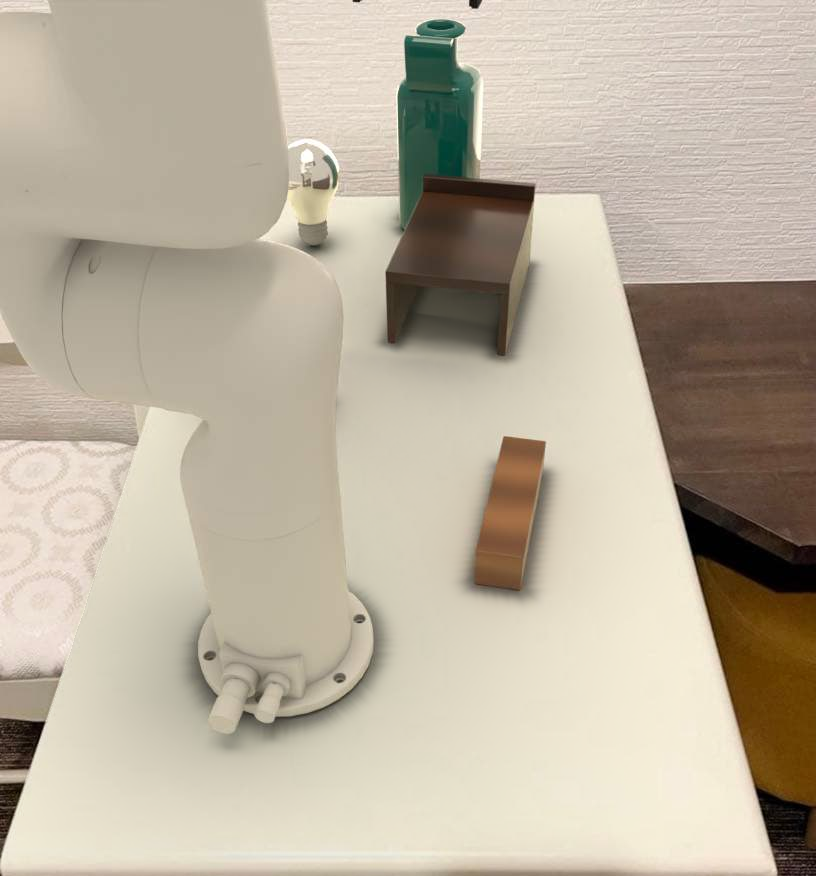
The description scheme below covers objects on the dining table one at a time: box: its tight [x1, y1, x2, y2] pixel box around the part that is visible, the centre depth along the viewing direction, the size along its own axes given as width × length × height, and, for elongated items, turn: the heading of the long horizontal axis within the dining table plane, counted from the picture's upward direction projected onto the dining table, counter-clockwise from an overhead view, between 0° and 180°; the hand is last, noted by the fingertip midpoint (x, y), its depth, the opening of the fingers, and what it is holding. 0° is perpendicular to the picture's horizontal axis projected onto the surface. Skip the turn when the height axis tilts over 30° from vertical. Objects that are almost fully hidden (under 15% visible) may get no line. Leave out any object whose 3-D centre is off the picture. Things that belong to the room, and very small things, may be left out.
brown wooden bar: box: [473, 435, 547, 591], centre depth 79 cm, size 14×4×4 cm, turn 167°
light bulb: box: [286, 138, 341, 248], centre depth 110 cm, size 7×7×12 cm
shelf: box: [385, 174, 536, 356], centre depth 102 cm, size 18×12×10 cm, turn 168°
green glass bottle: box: [396, 18, 484, 230], centre depth 110 cm, size 10×8×22 cm
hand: (418, 0), depth 81 cm, fingers open, 9 cm apart
